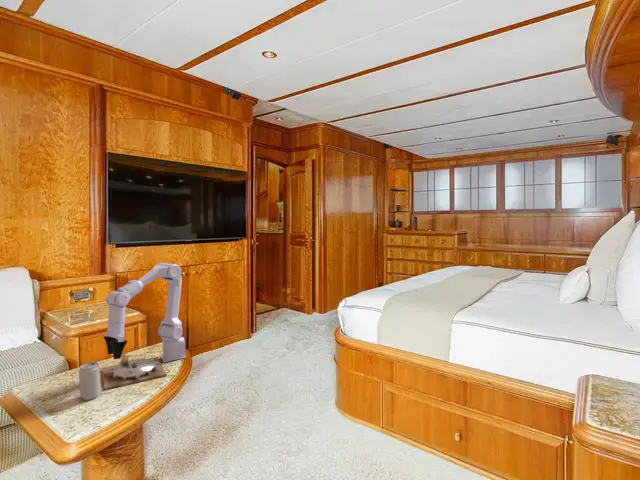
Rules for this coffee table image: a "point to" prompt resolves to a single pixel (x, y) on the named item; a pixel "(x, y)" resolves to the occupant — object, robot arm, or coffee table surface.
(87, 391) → the beverage can
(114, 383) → the walnut board
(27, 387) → the coffee table surface
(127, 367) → the sprocket wheel
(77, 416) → the coffee table surface
